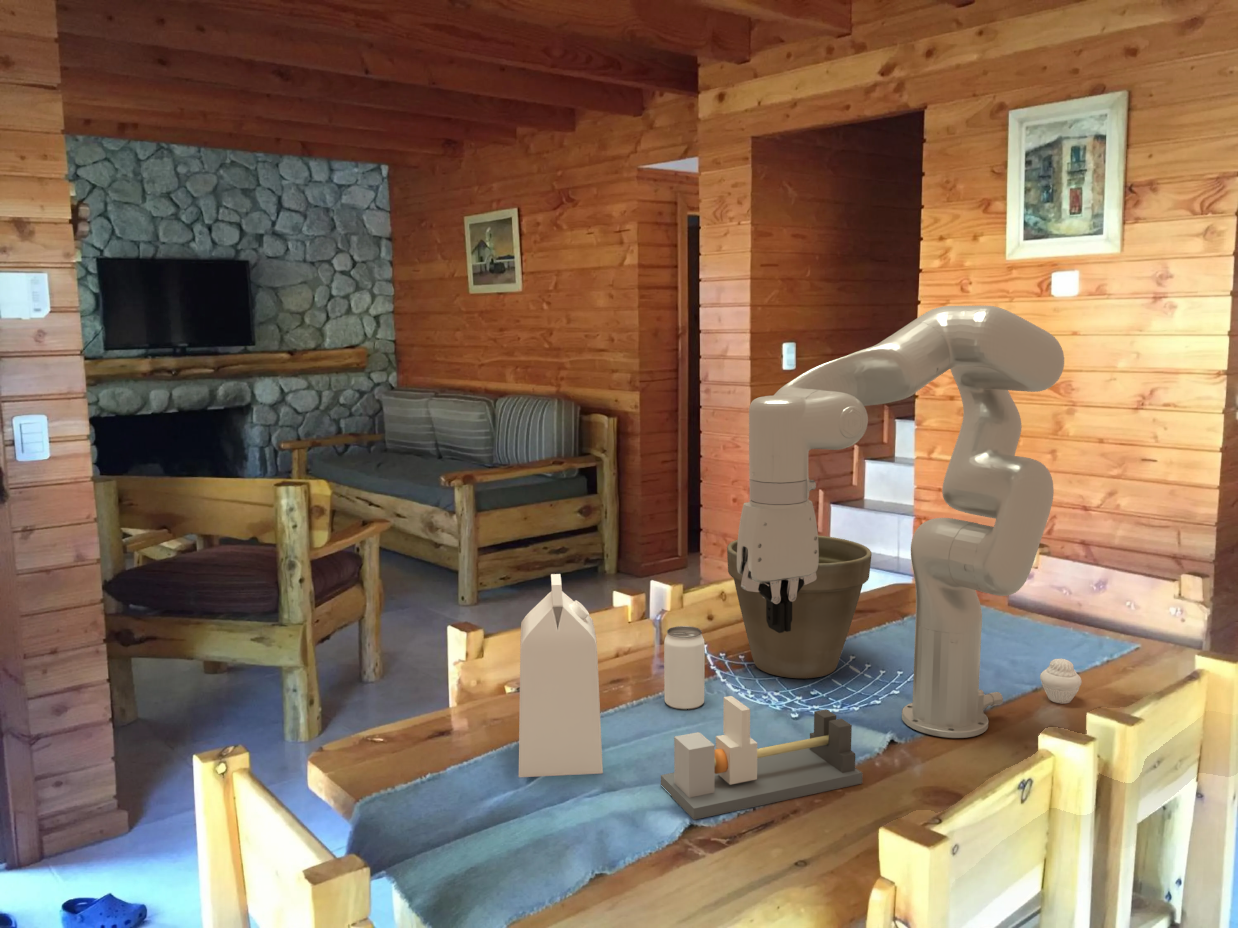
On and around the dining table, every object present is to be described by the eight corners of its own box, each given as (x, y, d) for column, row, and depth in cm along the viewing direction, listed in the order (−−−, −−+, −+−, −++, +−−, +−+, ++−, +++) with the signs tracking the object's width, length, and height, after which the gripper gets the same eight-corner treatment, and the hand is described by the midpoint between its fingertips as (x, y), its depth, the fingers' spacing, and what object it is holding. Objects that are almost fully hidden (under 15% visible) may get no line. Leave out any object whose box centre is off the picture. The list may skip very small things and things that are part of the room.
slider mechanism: (820, 753, 144) (821, 700, 143) (862, 783, 135) (863, 727, 134) (660, 785, 135) (660, 729, 134) (693, 819, 126) (693, 759, 125)
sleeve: (740, 765, 136) (740, 694, 135) (758, 780, 132) (759, 707, 130) (713, 770, 135) (714, 698, 133) (731, 786, 130) (732, 712, 129)
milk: (519, 740, 150) (515, 569, 146) (597, 737, 151) (594, 567, 147) (518, 777, 138) (513, 592, 134) (602, 773, 139) (600, 589, 135)
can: (701, 711, 160) (702, 638, 158) (661, 708, 161) (661, 636, 159) (706, 696, 166) (706, 626, 164) (667, 693, 167) (667, 624, 166)
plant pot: (823, 636, 196) (825, 527, 193) (896, 679, 173) (900, 556, 170) (704, 651, 188) (705, 537, 185) (764, 698, 165) (765, 569, 162)
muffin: (1086, 699, 163) (1088, 657, 162) (1072, 710, 159) (1074, 667, 158) (1047, 689, 167) (1049, 649, 166) (1032, 700, 163) (1034, 658, 162)
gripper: (812, 482, 136) (812, 613, 139) (713, 493, 131) (715, 629, 134) (844, 491, 129) (843, 629, 132) (741, 503, 124) (743, 646, 127)
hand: (779, 628), depth 133 cm, fingers closed
